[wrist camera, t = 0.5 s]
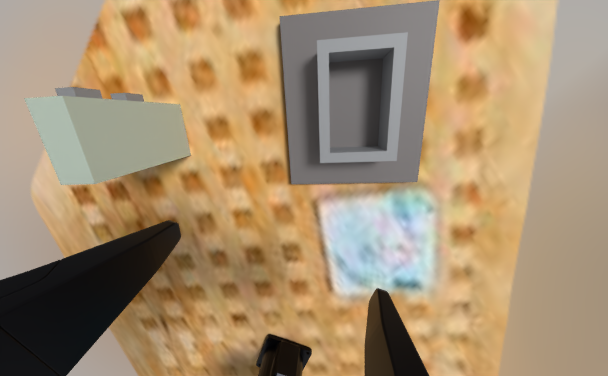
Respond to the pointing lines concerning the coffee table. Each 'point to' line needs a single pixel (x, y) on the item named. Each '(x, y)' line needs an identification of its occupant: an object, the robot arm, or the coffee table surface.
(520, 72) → the coffee table surface
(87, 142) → the pale green rectangular block
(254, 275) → the coffee table surface
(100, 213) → the coffee table surface
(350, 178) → the grey socket base
